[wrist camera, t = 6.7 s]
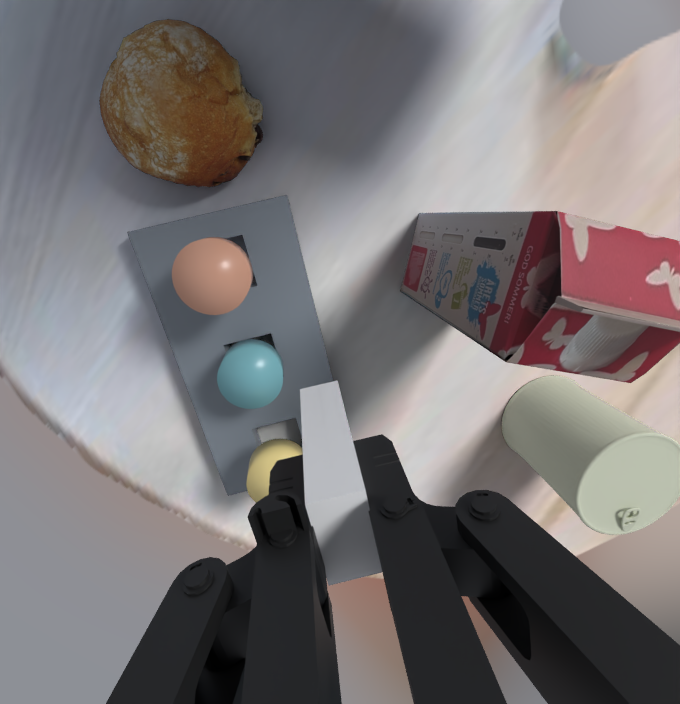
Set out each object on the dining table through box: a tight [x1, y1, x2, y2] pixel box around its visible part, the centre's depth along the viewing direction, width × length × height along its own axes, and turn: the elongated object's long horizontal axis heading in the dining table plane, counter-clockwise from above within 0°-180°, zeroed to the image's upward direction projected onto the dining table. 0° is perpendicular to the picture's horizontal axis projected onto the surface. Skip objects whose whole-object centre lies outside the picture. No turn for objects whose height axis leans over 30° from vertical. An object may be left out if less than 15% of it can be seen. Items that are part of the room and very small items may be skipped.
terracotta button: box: [172, 237, 253, 315], centre depth 28 cm, size 5×5×4 cm
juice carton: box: [400, 211, 680, 383], centre depth 26 cm, size 7×7×22 cm
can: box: [502, 375, 680, 535], centre depth 37 cm, size 9×9×12 cm
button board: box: [127, 195, 333, 496], centre depth 36 cm, size 24×12×2 cm, turn 13°
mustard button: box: [246, 439, 303, 503], centre depth 34 cm, size 5×5×4 cm
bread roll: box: [99, 19, 263, 187], centre depth 28 cm, size 10×10×8 cm
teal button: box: [217, 339, 283, 409], centre depth 33 cm, size 5×5×4 cm
